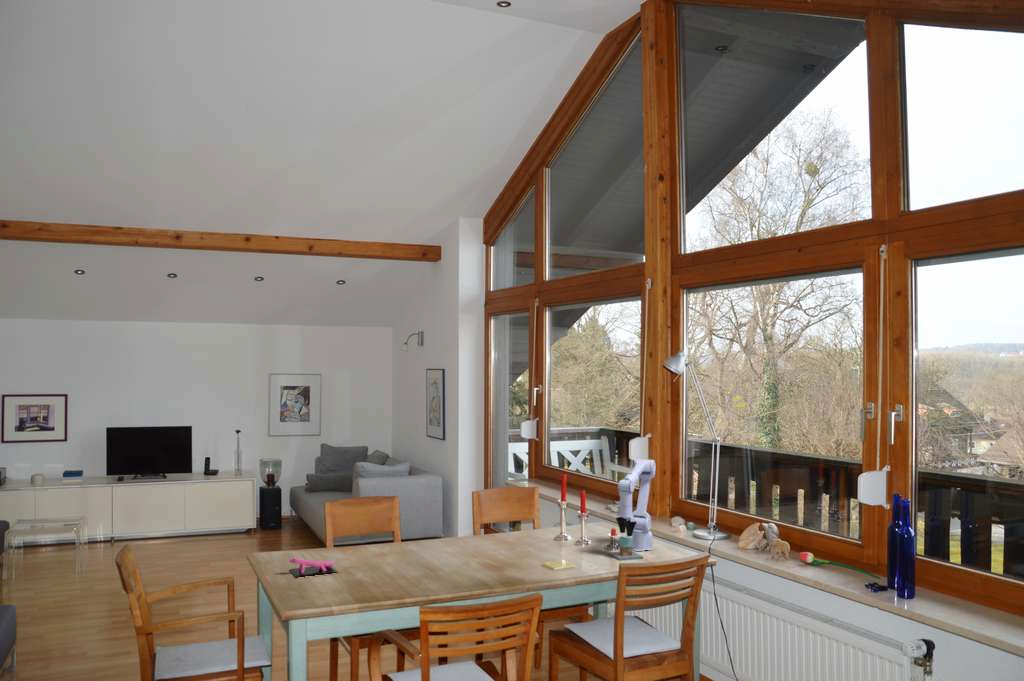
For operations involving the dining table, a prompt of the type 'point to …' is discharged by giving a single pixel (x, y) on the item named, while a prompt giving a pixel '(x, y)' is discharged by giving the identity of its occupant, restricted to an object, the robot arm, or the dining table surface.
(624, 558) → the base plate
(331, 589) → the dining table surface
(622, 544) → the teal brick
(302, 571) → the pink animal figurine
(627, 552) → the brown cube
